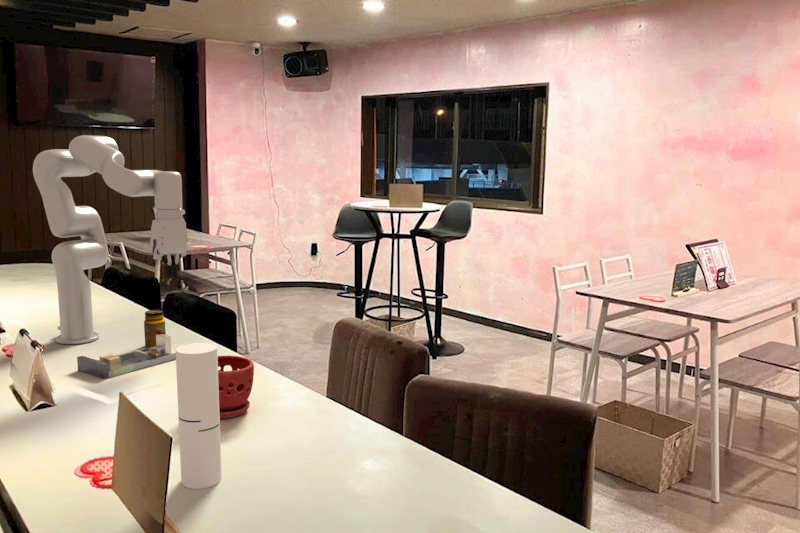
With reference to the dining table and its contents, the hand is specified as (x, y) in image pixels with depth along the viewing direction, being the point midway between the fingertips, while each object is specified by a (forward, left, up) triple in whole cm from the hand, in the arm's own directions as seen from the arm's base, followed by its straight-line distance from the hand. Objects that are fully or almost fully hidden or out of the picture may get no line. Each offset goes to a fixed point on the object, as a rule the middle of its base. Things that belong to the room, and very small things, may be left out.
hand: (171, 277), depth 205 cm
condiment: (-10, 0, -24) cm, 26 cm away
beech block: (+1, -21, -22) cm, 31 cm away
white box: (+2, -8, -22) cm, 23 cm away
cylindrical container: (+71, -48, -24) cm, 89 cm away
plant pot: (+48, -22, -24) cm, 58 cm away
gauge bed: (+1, -15, -23) cm, 28 cm away
